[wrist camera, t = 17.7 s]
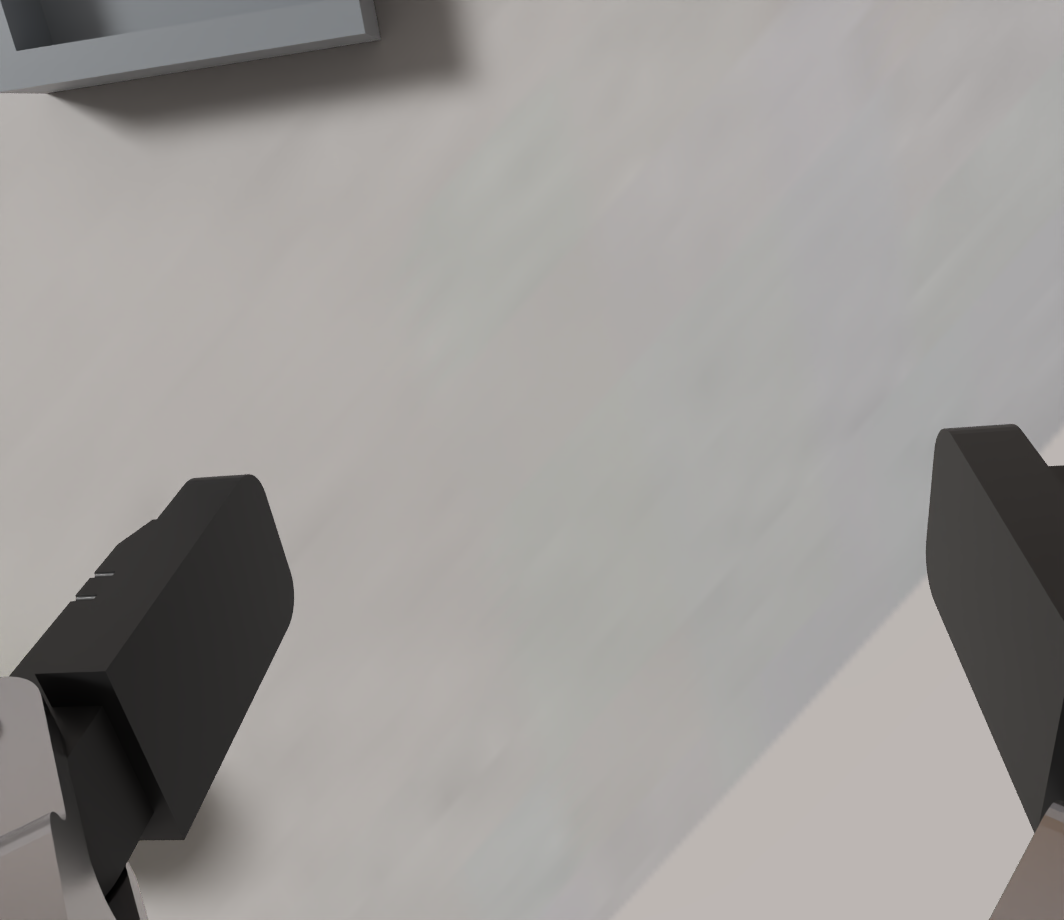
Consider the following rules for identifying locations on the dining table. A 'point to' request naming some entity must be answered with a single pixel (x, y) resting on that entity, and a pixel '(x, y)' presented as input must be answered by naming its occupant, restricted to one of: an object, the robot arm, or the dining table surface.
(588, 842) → the dining table surface
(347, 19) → the divided tray
